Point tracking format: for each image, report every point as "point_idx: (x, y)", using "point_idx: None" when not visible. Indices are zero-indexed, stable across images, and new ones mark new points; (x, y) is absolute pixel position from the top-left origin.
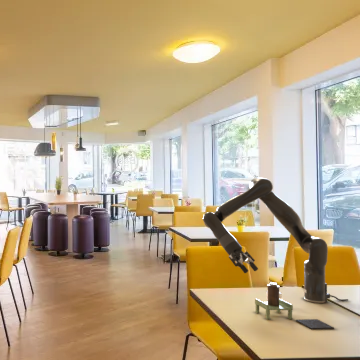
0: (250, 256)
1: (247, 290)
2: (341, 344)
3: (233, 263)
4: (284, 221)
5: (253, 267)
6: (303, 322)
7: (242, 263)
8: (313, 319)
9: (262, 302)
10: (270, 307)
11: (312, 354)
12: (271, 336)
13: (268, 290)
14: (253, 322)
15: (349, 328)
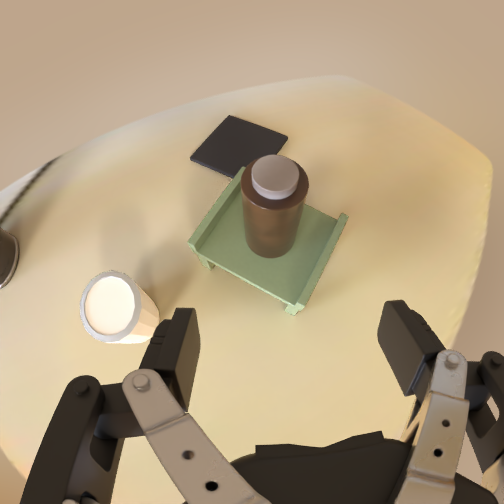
0: (66, 449)
1: None
2: (319, 88)
3: (489, 423)
4: None
5: (192, 357)
6: None
7: (448, 355)
8: (201, 161)
9: (334, 246)
10: (318, 223)
11: (414, 108)
12: (428, 175)
13: (302, 210)
14: (399, 253)
15: (191, 108)
